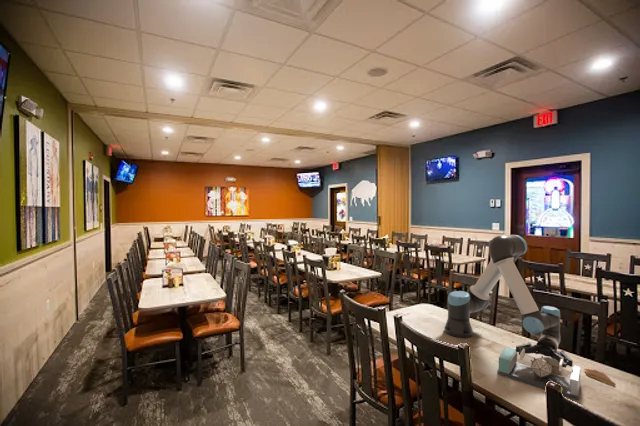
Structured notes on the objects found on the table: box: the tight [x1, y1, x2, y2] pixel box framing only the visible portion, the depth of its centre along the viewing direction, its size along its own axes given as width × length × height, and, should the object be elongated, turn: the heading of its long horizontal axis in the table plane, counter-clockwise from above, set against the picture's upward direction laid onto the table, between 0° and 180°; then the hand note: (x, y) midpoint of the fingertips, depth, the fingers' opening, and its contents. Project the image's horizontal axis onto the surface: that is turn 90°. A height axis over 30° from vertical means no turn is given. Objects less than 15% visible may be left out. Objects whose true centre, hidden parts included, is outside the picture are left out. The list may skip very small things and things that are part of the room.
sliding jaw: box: [498, 346, 518, 374], centre depth 141 cm, size 14×4×6 cm, turn 137°
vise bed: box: [496, 362, 581, 401], centre depth 133 cm, size 14×28×8 cm, turn 47°
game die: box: [529, 355, 555, 379], centre depth 133 cm, size 9×8×10 cm
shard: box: [583, 368, 616, 387], centre depth 134 cm, size 11×8×2 cm
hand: (539, 362), depth 130 cm, fingers open, 13 cm apart
